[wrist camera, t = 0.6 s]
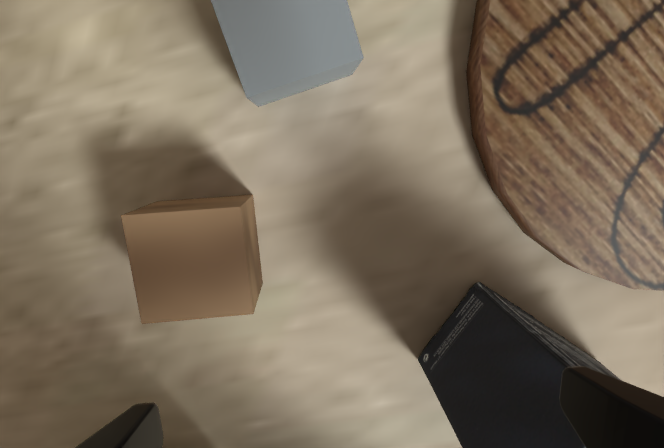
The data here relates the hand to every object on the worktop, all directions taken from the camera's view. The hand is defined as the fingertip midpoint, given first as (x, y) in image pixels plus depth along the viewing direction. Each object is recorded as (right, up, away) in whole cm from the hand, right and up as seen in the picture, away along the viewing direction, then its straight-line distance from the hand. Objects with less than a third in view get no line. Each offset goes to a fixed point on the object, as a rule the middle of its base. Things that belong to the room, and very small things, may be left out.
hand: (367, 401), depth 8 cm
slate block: (-3, +13, +10) cm, 17 cm away
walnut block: (-7, +3, +12) cm, 14 cm away
